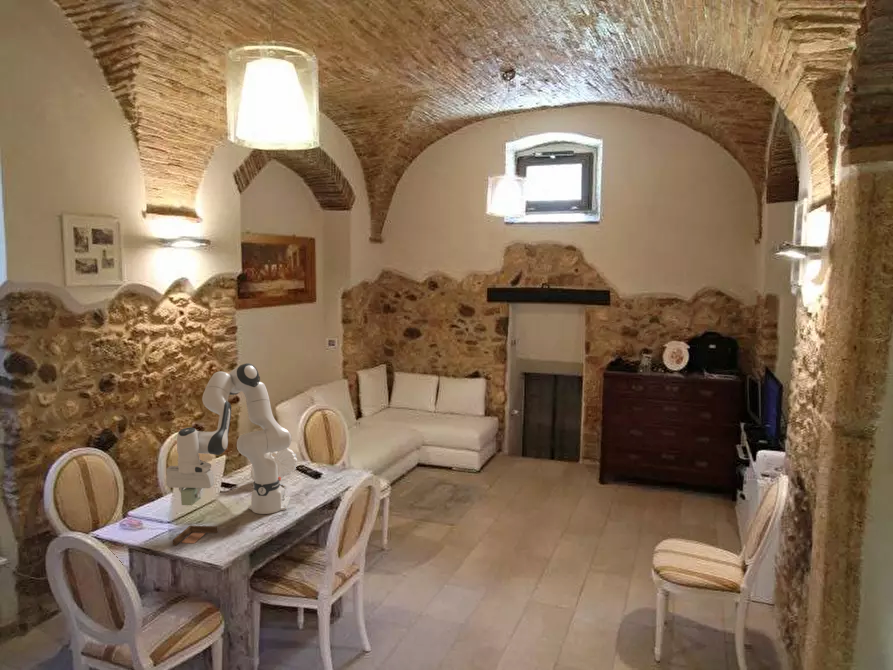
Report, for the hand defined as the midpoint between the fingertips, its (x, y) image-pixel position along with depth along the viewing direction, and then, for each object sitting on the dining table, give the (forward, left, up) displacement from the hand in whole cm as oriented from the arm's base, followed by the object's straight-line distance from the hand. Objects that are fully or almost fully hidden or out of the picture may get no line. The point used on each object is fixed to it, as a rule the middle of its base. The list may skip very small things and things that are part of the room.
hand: (190, 497), depth 280 cm
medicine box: (-95, +10, -19) cm, 97 cm away
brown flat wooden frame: (0, +1, -18) cm, 19 cm away
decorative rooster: (-70, +10, -19) cm, 73 cm away
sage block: (0, 0, -2) cm, 2 cm away
